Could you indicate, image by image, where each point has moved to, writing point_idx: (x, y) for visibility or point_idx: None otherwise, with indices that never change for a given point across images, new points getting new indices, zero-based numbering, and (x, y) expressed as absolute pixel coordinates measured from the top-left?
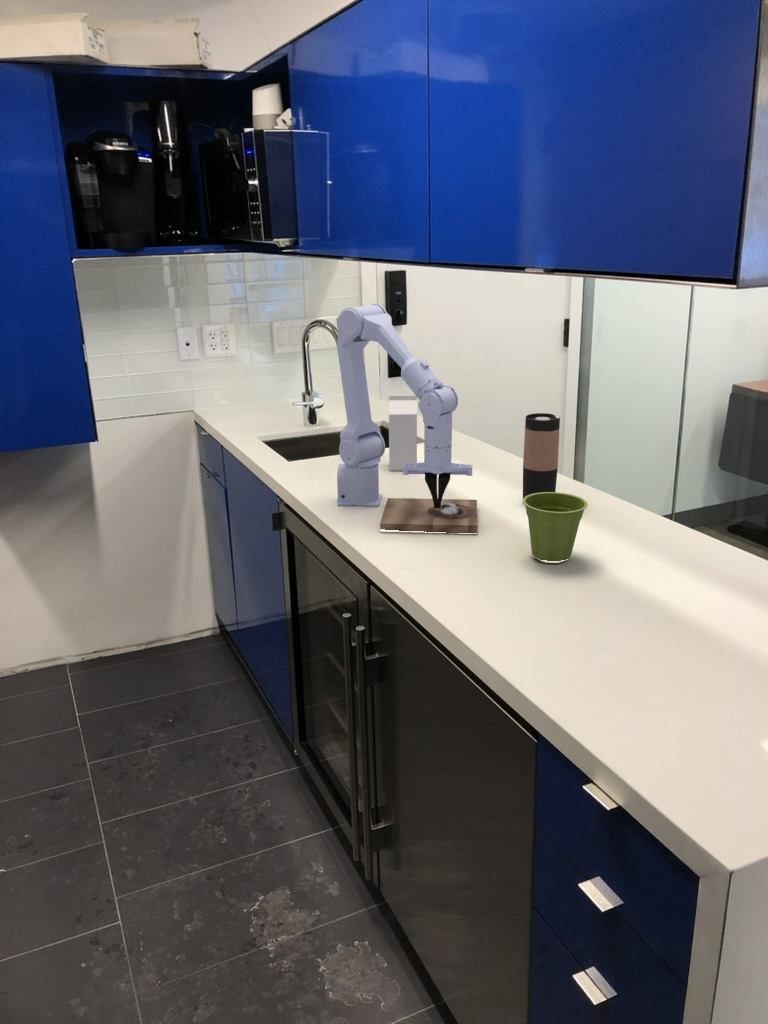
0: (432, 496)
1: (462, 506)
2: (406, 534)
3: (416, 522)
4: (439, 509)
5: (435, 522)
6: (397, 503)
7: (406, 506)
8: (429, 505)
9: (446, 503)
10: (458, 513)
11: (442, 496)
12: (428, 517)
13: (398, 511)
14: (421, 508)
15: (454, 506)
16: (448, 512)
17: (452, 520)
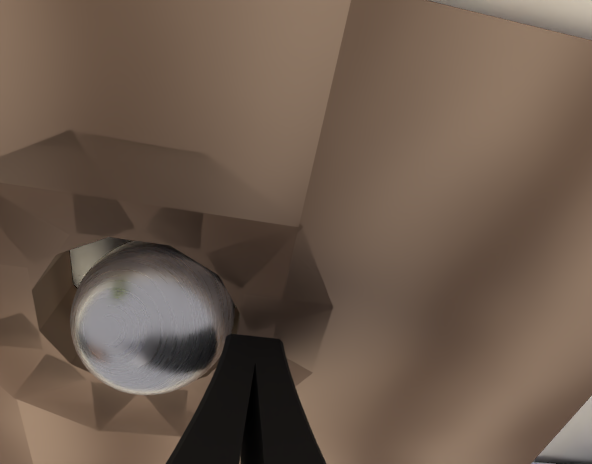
0: (309, 437)
1: (60, 398)
2: (574, 7)
3: (508, 84)
4: None
5: (311, 59)
6: (475, 453)
7: (442, 415)
8: None
9: (163, 378)
10: None
11: (187, 431)
12: (350, 213)
13: (532, 348)
14: (357, 384)
15: (87, 332)
16: (158, 267)
17: (120, 101)
